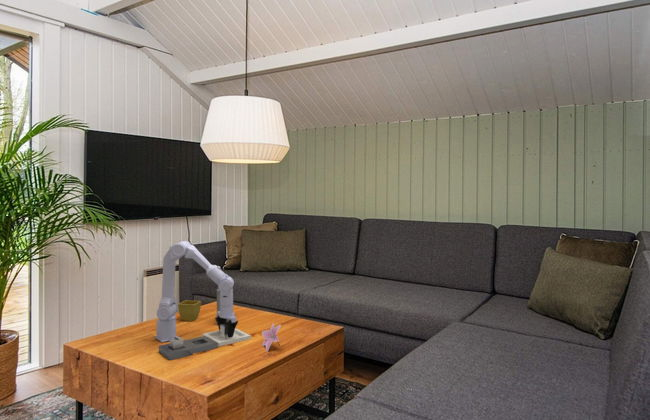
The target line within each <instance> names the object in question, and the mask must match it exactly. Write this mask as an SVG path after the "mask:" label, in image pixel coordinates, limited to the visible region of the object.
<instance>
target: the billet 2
mask: <svg viewBox="0 0 650 420" xmlns="http://www.w3.org/2000/svg"><path fill="white" fill-rule="evenodd" d="M220 338H222V339H223V340H227V339H231V338H233V337H230V338H229V337H228V334H227V327H226V325H225V323H224V324H220Z"/></svg>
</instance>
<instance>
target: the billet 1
mask: <svg viewBox="0 0 650 420" xmlns="http://www.w3.org/2000/svg"><path fill="white" fill-rule="evenodd" d="M183 340H184V338H183V337H181V336H178V337H174V338H170V341H169V343H170V349H171V350H176V349H180V348H183Z"/></svg>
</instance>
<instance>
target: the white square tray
mask: <svg viewBox="0 0 650 420" xmlns="http://www.w3.org/2000/svg"><path fill="white" fill-rule="evenodd" d="M202 336H206V337H207V338H209V339H211V340H213V341H214V342H216V343H217V348H218V347H223V346H226V345H230V344H236V343H240V342H244V341H248V340H251V339H252V336H251V335H250V333H248V332H247V333H246V332H244V331H242V330H240V329H238V328H235V331H234V335H233V338H231V339H227V340H223V339H222V338H220V331H219V329H218V330H214V331H210V332H205V333H202V334H201V337H202Z"/></svg>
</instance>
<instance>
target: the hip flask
mask: <svg viewBox="0 0 650 420" xmlns="http://www.w3.org/2000/svg"><path fill="white" fill-rule="evenodd" d="M232 288H233V289H234V286H233V287H232ZM232 288H231V289H232ZM217 311H220V290H219V288H217V289H216V312H217ZM216 317H218V316H217V315H216ZM227 321H229V320H227ZM227 321H226V322H227ZM216 326H218V324H217V323H216Z"/></svg>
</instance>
